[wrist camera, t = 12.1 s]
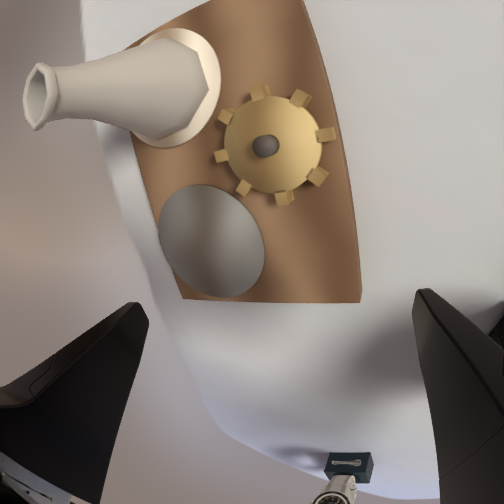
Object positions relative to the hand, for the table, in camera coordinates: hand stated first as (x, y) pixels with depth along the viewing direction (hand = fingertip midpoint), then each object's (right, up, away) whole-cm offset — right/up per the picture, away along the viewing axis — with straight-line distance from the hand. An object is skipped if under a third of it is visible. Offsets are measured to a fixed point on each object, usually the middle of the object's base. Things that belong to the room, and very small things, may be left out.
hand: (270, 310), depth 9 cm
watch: (+13, -26, +21) cm, 36 cm away
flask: (-6, +13, +9) cm, 17 cm away
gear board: (-2, +9, +11) cm, 14 cm away
